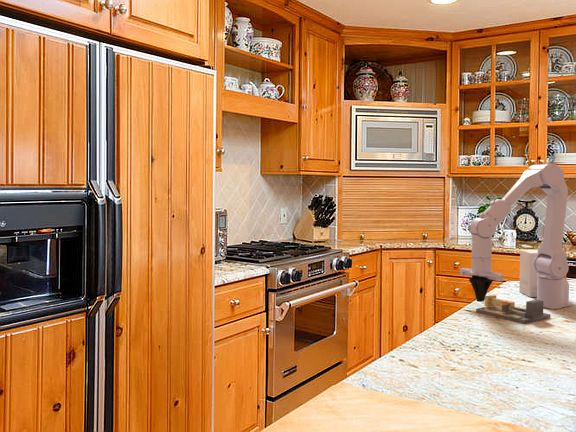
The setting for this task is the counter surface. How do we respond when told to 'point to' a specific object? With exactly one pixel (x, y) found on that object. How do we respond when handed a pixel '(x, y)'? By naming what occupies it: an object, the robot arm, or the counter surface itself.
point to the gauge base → (518, 312)
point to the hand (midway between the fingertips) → (480, 301)
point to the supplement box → (528, 273)
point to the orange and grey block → (505, 307)
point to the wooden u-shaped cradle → (497, 302)
